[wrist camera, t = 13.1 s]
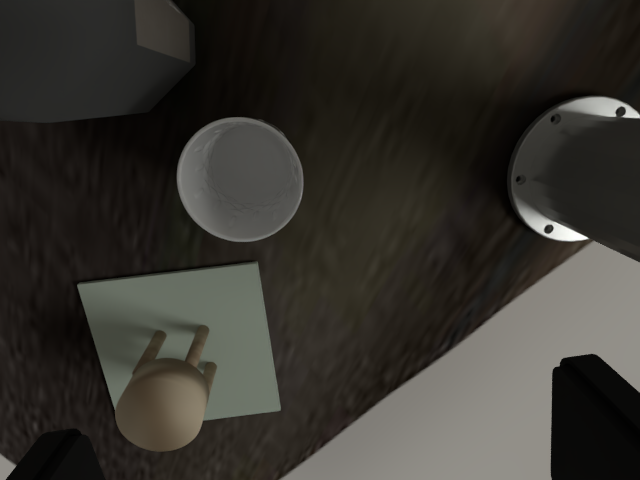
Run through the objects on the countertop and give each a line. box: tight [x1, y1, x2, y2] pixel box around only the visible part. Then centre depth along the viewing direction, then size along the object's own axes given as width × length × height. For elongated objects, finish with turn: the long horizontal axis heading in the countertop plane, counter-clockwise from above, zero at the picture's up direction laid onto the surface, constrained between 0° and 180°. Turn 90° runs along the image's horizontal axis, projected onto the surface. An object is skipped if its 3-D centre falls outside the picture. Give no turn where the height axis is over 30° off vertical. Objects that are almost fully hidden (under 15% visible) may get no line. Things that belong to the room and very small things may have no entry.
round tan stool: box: [115, 325, 217, 451], centre depth 37 cm, size 6×6×9 cm
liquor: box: [0, 0, 196, 123], centre depth 19 cm, size 9×9×30 cm
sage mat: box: [77, 261, 281, 420], centre depth 42 cm, size 16×16×1 cm
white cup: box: [177, 117, 304, 242], centre depth 32 cm, size 8×8×10 cm
